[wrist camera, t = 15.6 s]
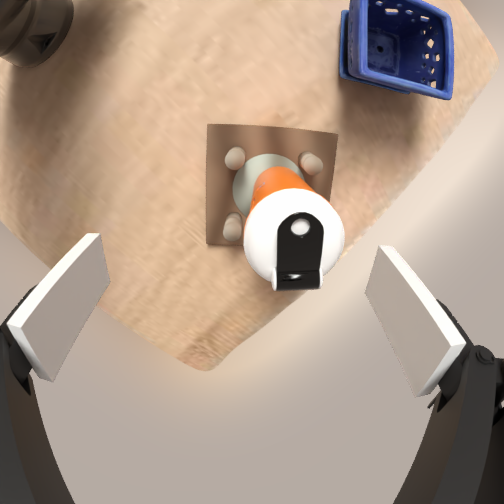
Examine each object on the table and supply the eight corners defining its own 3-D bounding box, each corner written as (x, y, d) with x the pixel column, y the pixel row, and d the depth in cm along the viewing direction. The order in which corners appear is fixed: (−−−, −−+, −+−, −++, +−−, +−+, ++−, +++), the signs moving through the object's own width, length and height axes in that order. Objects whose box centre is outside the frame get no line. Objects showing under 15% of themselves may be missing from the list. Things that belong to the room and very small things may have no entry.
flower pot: (409, 102, 34) (455, 104, 23) (329, 84, 34) (359, 75, 23) (410, 29, 28) (452, 13, 17) (331, 7, 27) (357, -24, 17)
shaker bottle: (304, 155, 37) (352, 195, 19) (312, 214, 41) (354, 294, 23) (241, 165, 38) (230, 215, 20) (253, 224, 42) (253, 312, 24)
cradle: (207, 240, 45) (201, 259, 39) (208, 124, 36) (201, 125, 31) (319, 246, 45) (328, 265, 40) (335, 133, 37) (349, 137, 31)
